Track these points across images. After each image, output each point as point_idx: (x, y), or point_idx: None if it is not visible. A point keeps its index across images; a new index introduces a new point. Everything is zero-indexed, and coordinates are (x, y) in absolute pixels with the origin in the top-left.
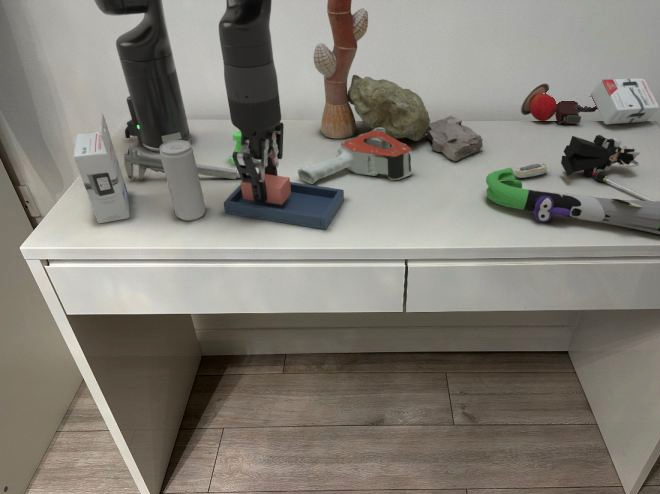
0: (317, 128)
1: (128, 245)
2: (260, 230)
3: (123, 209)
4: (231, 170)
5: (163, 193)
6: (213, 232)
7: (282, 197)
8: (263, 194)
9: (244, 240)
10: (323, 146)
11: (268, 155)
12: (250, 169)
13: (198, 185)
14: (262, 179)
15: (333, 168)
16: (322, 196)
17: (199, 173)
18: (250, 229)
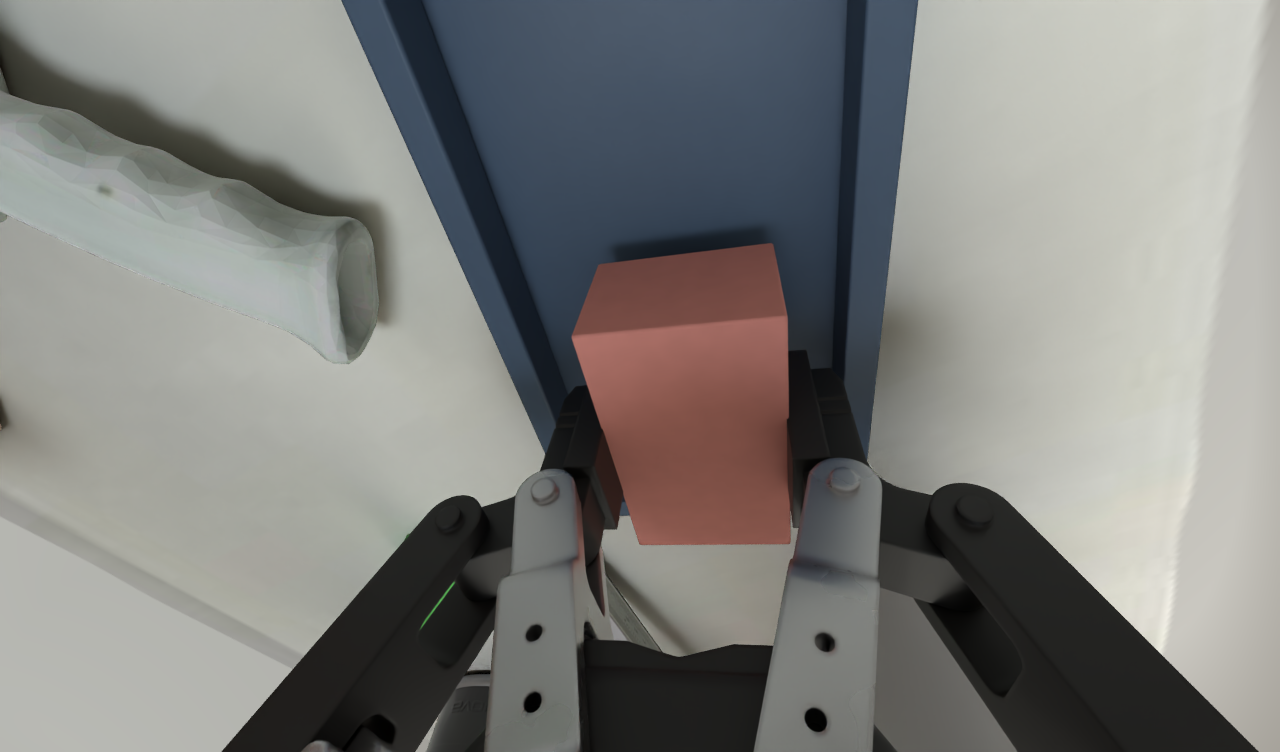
0: (8, 457)
1: (1152, 603)
2: (994, 240)
3: None
4: None
5: (772, 635)
6: (1037, 432)
7: (753, 268)
8: (815, 389)
9: (1132, 267)
10: (56, 371)
11: (594, 609)
12: (1205, 707)
13: (942, 669)
14: (857, 483)
15: (117, 155)
16: (440, 50)
17: (640, 624)
18: (988, 297)
